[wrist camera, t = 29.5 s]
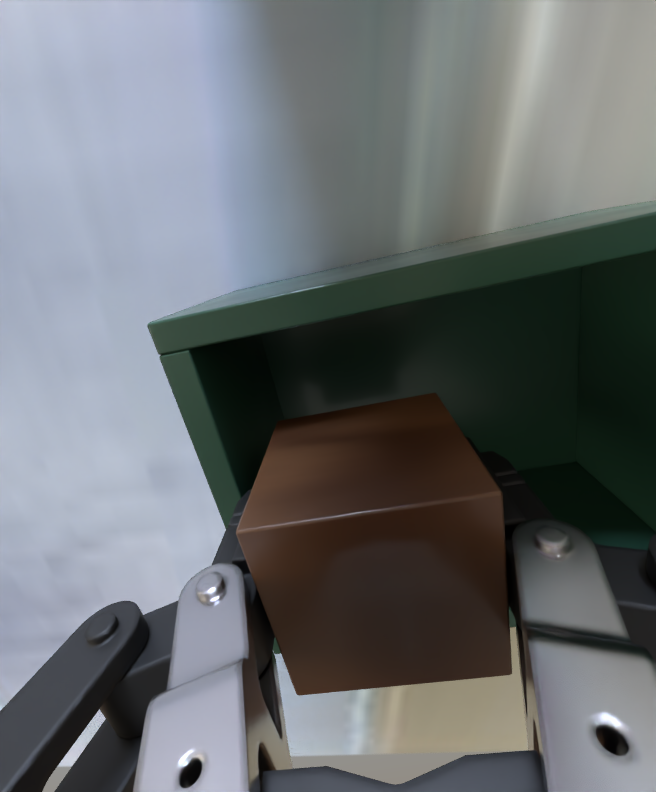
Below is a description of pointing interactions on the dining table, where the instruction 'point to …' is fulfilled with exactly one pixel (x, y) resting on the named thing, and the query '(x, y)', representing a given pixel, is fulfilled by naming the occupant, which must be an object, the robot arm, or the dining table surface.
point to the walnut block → (379, 549)
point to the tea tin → (451, 360)
